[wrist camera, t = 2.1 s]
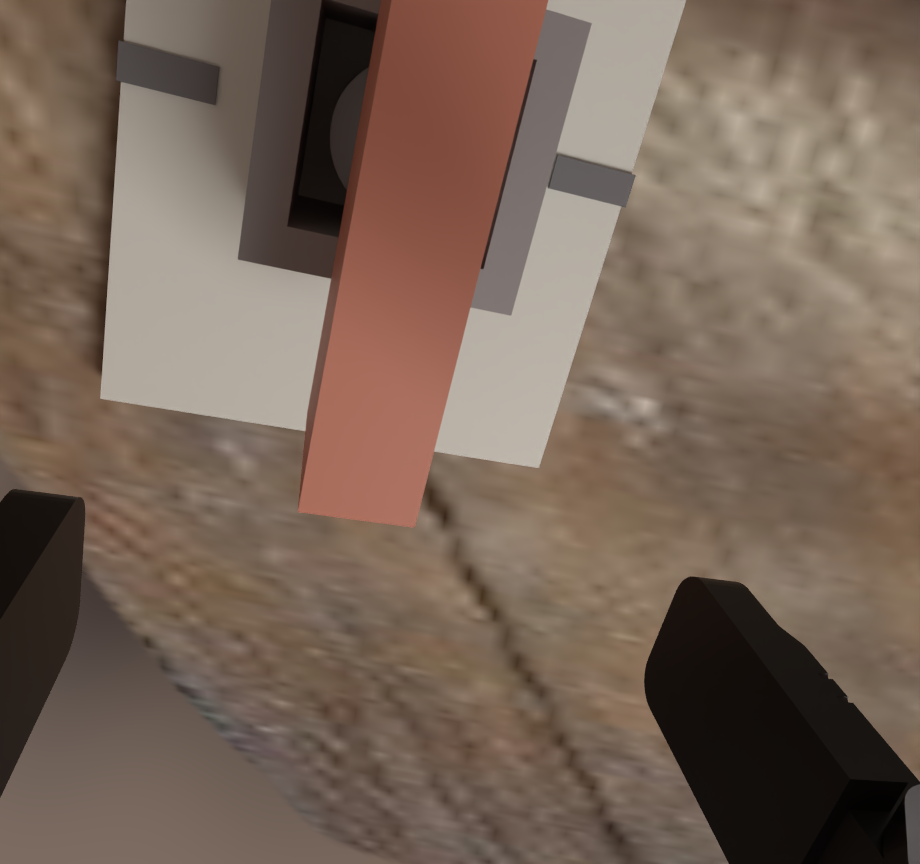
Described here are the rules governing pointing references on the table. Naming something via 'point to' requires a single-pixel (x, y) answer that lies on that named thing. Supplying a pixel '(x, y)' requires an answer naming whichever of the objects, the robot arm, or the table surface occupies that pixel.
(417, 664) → the table surface
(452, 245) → the red bar with frame
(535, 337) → the lock board
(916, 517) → the table surface
